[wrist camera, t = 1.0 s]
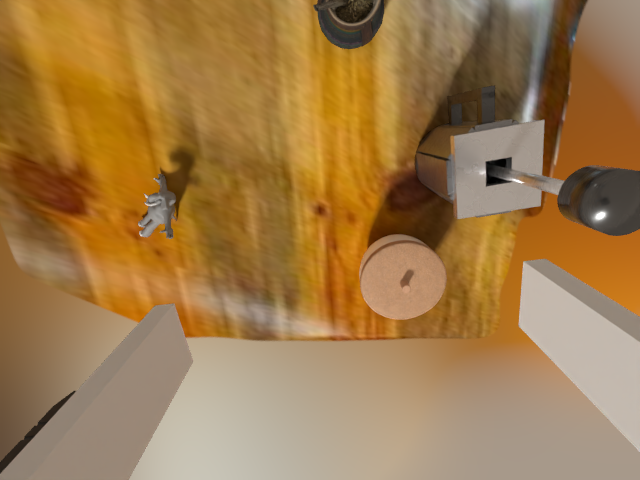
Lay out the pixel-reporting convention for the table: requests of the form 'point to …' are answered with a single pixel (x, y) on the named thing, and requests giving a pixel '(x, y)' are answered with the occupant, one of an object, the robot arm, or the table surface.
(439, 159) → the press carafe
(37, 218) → the table surface
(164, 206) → the grey animal figurine
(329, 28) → the mate gourd
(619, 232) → the plunger
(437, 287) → the lidded jar
